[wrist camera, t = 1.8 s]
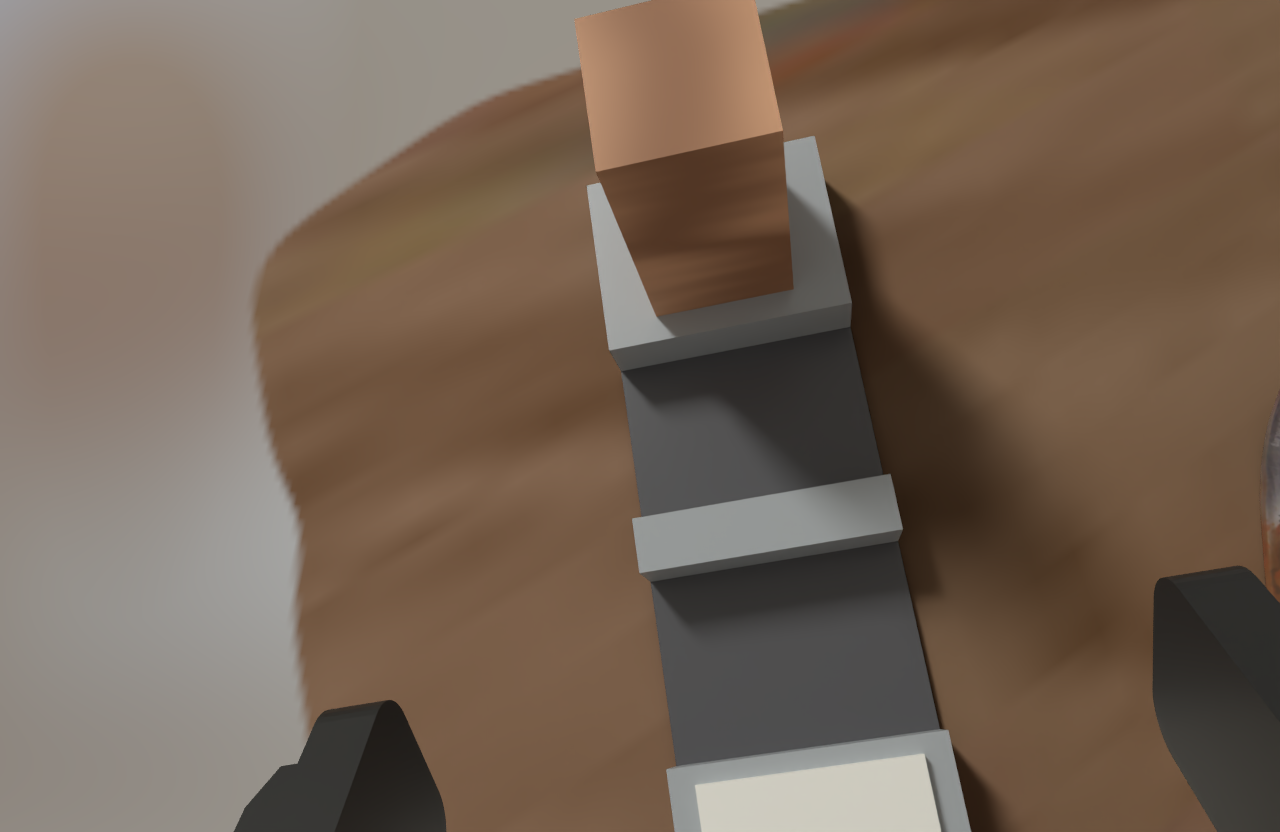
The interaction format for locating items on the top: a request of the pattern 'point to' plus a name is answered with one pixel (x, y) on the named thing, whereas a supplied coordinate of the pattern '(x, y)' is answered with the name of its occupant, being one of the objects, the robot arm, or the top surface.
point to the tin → (1271, 501)
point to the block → (689, 148)
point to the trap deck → (775, 551)
